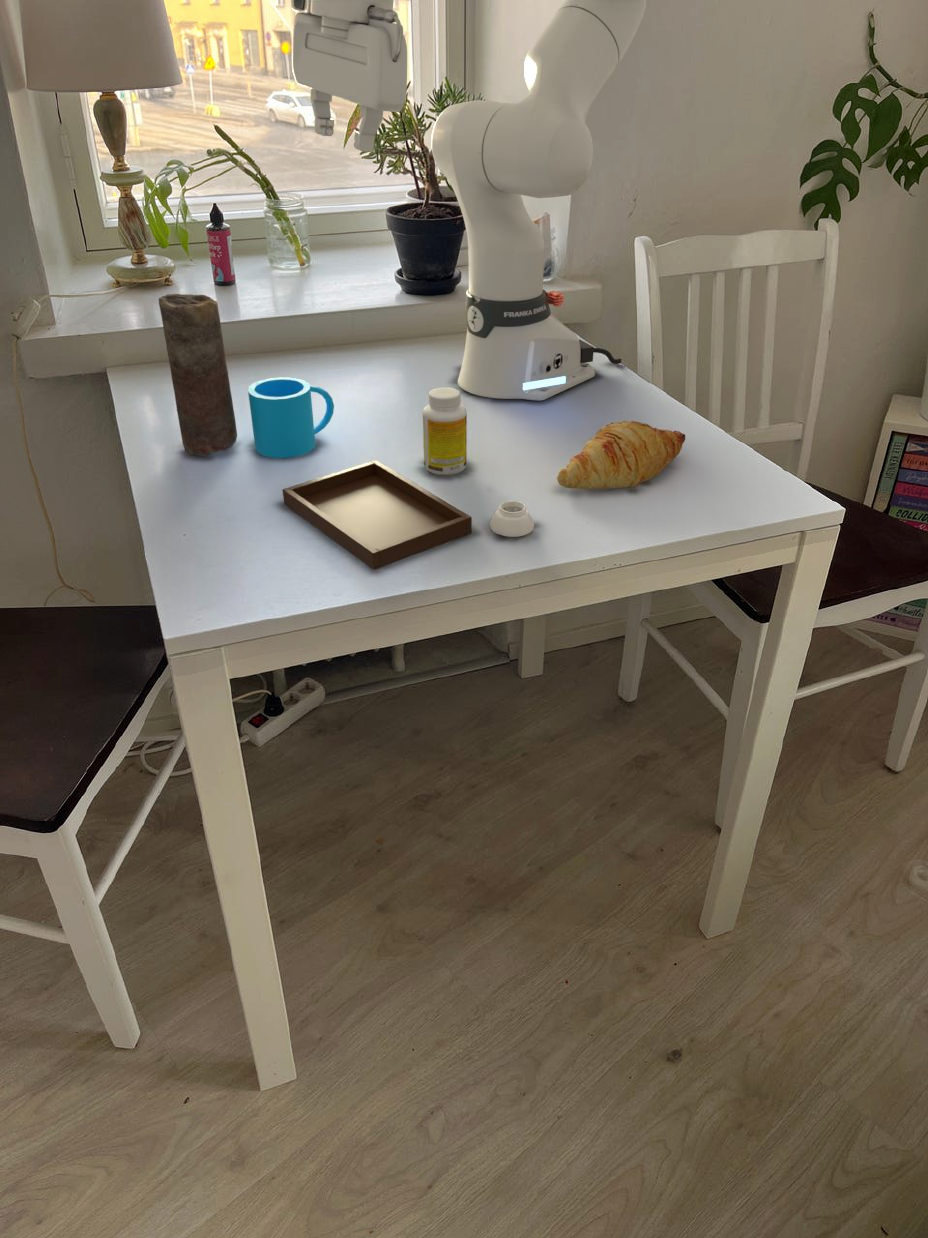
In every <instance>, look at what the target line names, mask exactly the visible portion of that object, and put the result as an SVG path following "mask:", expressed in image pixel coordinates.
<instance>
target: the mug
mask: <svg viewBox="0 0 928 1238" xmlns="http://www.w3.org/2000/svg"><path fill="white" fill-rule="evenodd" d="M247 393H248V401H249V402H248V403H249V409H250V416H251V425H252V433H253V442H254V448H255V451H256V452H257V453H258V454H260V455H262V456H264V457H268V458H272V459H289V458H291V459H292V458H296V457H301V456H304V455H306V454H308V453H310V452H311V451H313V450H314V449H315V447H316V436H315V435H317V434H319V433H320V432H321V431H323V430H324V429H325V428H326V427H327V425H328V424H329V423H330V422H331V420H332V417H333V415H334V411H335V404H334V400H333V397H332V396H331V395H330V393H329V392H328V391H327V390H325V389H324V388H322V387H320V386H315V385H311V384H310V383H309V382H308V381H306V380H304V379H301V378H295V377H288V376H287V377H286V376H279V377H278V376H277V377H270V378H265V379H261V380H257V381H255V382H254V383H252V384H250V385H249V387H248V388H247ZM312 393H317V394H318V395H320V396H322V398H323V399H324V400H325V404H326V409H325V413H324V415H323V418H322V419H321V420H320V422H319V423H317V425H314V415H313V403H312Z"/></svg>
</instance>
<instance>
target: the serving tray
mask: <svg viewBox="0 0 928 1238" xmlns="http://www.w3.org/2000/svg"><path fill="white" fill-rule="evenodd" d="M281 490H282V499H283V505H284V506H285V507H287V508H288V509H289V510H290V511H292V512H294V513H295V514H296V515H298V516H299V517H300V518H302V519H303V520H304V521H306V522H307V523H309V524H310V525H311V526H312V527H314V528H316V529H317V530H318V531H320V533H323V534H324V535H325V536H326V537H328V538H329V539H331V540H332V541H333V542H334V543H336V544H338V545H339V546H340V547H342V548H343V549H344V550H346V551H347V552H348V553H350V554H351V555H353V556H354V557H355V558H356V559H358V560H359V561H361V562H362V563H363V564H365V565H366V566H368V567H369V568H370V569H372V570H374V571H375V570H378V569H381V568H383V567H386V566H388V565H391V564H394V563H396V562H400V561H401V560H404V559H407V558H409V557H412V556H414V555H417V554H420V553H423V552H425V551H428V550H430V549H433V548H435V547H438V546H440V545H444V544H446V543H448V542H451V541H454V540H457V539H459V538H462V537H464V536H467V535H470V534H472V531H473V529H472V527H473V526H472V525H473V520H472V519H473V517H472V516H471V515H469V514H467V513H465V512H464V511H462V510H461V509H459V508H458V507H456V506H454V505H453V504H451V503H449V502H447V501H445V500H444V499H442V498H441V497H439V496H438V495H436V494H434V493H432V492H431V491H429V490H427V489H425V488H424V487H422V486H420V485H418V484H417V483H415V482H414V481H412V480H410V479H408V478H407V477H405V476H403V475H402V474H400V473H399V472H397V471H395V470H394V469H392V468H390V467H388V466H387V465H385V464H384V463H382V462H380V461H378V460H376V459H374V460H372V461H368V462H365V463H362V464H359V465H355V466H353V467H349V468H346V469H342V470H339V471H336V472H332V473H330V474H327V475H324V476H323V475H322V476H320V477H317V478H313V479H311V480H306V481H305V482H300V483H298V484H293V485H291V486H289V487H285V488H282V489H281Z"/></svg>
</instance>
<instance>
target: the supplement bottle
mask: <svg viewBox="0 0 928 1238" xmlns="http://www.w3.org/2000/svg"><path fill="white" fill-rule="evenodd" d="M461 402H462V398H461V391H459V390H458V389H456V388H453V387H445V386H444V387H437V388H434V389H431V390H429V392H428V404H427V405H425V407H424V408H423V410H422V438H423V439H422V440H423V442H422V443H423V446H422V447H423V464H424V469H426V471H428V472H429V473H431V474H433V475H438V476H453V475H457V474H459V473H461V472H463V471H464V470H465V469H466V467H467V455H468V454H467V443H468V442H467V441H468V439H467V438H468V437H467V436H468V435H467V433H468V432H467V431H468V430H467V428H468V427H467V425H468V424H467V423H468V421H467V417H468V415H467V414H468V412H467V408H466V407H465V406H464V405H463V404H462V403H461Z"/></svg>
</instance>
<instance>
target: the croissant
mask: <svg viewBox="0 0 928 1238" xmlns="http://www.w3.org/2000/svg"><path fill="white" fill-rule="evenodd" d="M685 441H686V434H685V433H682V432H681V431H679V430H669V429H660V428H657V427H652V426H651V425H649V424H647V423H645V422H644V423H642V422H639V421H633V420H621V421H618V422H610V423H608V424H605V425H604V426H603V427H601V428H600V429H598V431H596V433H595V435H594V437H593V438H590V439H589V440H588V441H586V444H585V445H584V446H583V448H582V451H581V452H580V453H579V454H576V455H573V456H572V457H571V458H570V459H569V462H568V463H567V464H566V468H562V469H560V470H559V471H558V473H557V477H556V481H557V483H558V485H559V486H561V487H564V488H568V489H577V490H607V489H609V490H611V489H612V490H613V489H623V488H629V487H631V488H634V487H637V486H639V484H640V483H645V482H648V481H649V480H651V479H653V478H654V477H657V476H658V475H659V474H660V473H661V472H662V471H663V469H664V468H666V467H667V465H669V463H671V462H672V461H673V460H674V459H675V458H676V457H677V456H679V454H680V453H681V451H682V448H683V444H684V443H685Z"/></svg>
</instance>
